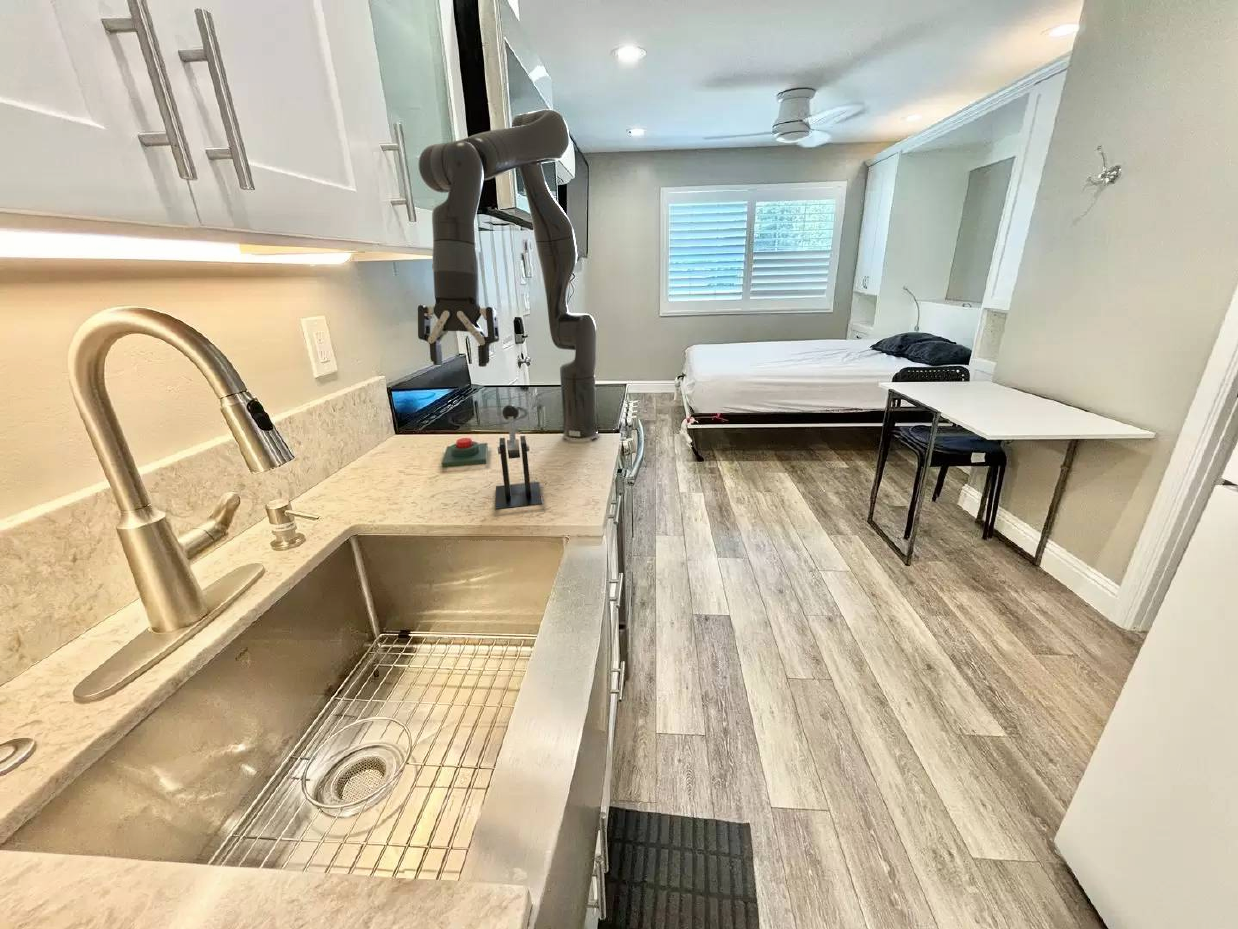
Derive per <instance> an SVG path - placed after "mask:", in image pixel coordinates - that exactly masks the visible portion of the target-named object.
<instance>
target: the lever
mask: <svg viewBox="0 0 1238 929" xmlns="http://www.w3.org/2000/svg"><path fill="white" fill-rule="evenodd" d="M519 411H520V410H519V408H518V407H517V406H516V405H514V404H507V405H505V406H504V407H503V408H502V411H501V412H502V413H501V415H502V417H503V418H504V419H505V420H506V421H508V432H509V439H507V440H506V445H507V446H506V449H507V458H508V459H510V460H511V459H520V458H521V450H520V440H519V439H518V438H517V439H516V428H515V420H516V419H518V417H519V414H520V412H519Z"/></svg>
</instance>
